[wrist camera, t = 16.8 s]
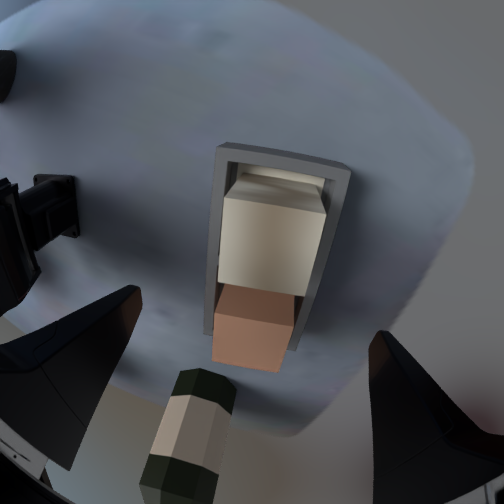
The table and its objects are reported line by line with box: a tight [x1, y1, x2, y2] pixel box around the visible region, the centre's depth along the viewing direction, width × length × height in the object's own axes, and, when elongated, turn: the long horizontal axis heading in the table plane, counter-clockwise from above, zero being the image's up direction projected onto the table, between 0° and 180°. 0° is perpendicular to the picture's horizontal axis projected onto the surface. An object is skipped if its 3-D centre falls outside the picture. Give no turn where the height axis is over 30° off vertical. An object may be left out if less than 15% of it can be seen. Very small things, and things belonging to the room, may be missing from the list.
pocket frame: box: [204, 142, 351, 351], centre depth 21 cm, size 8×16×3 cm, turn 172°
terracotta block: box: [212, 283, 294, 373], centre depth 20 cm, size 5×5×6 cm
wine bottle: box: [139, 368, 237, 504], centre depth 20 cm, size 8×8×30 cm
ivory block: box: [218, 172, 326, 297], centre depth 17 cm, size 5×5×6 cm
